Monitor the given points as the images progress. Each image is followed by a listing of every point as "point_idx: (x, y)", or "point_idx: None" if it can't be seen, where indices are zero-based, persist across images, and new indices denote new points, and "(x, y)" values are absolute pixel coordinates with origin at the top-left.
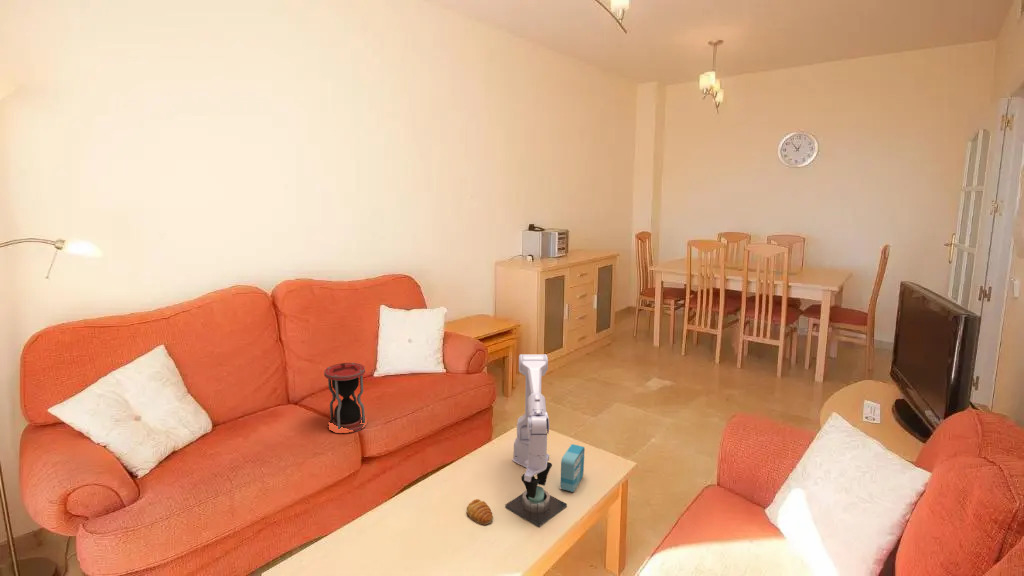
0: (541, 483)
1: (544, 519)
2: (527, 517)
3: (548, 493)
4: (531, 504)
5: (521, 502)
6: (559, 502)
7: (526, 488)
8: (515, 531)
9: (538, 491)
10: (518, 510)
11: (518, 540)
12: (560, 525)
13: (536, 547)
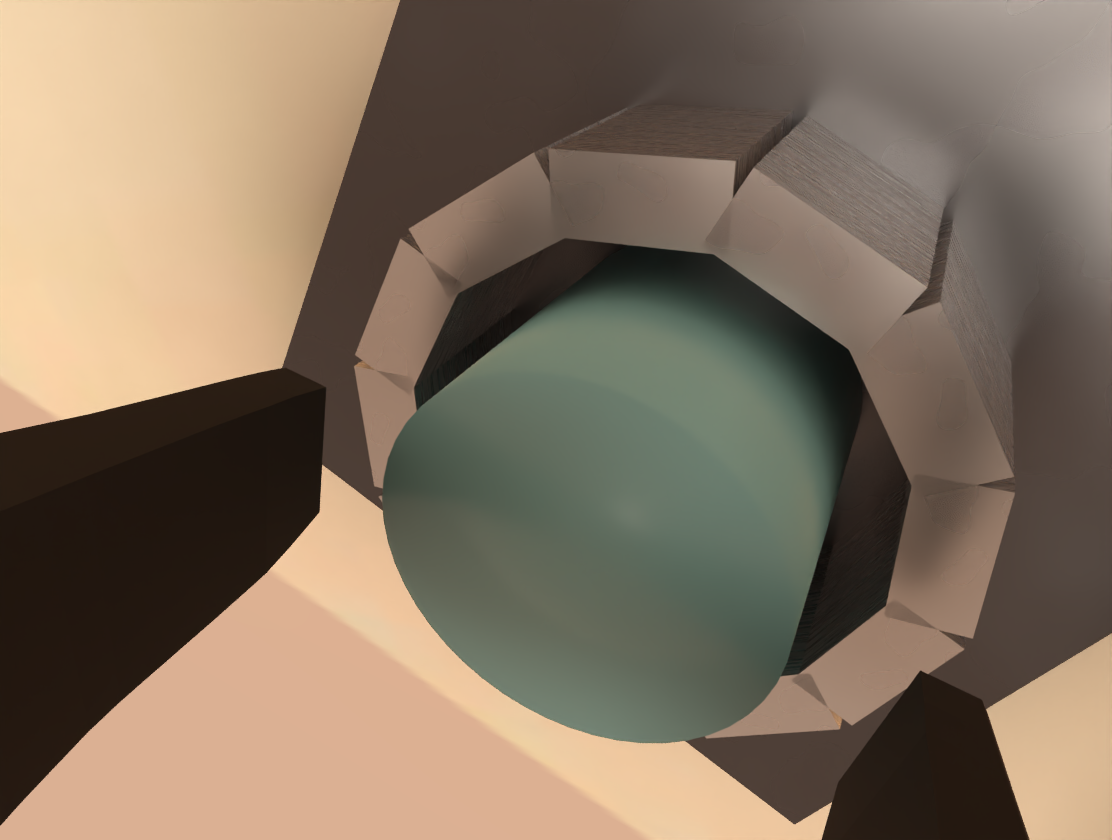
0: (868, 778)
1: (376, 493)
2: (322, 255)
3: (778, 729)
4: (367, 374)
5: (706, 69)
6: (820, 747)
7: (9, 448)
8: (105, 90)
9: (539, 618)
10: (427, 56)
11: (15, 162)
12: (419, 632)
13: (47, 369)
